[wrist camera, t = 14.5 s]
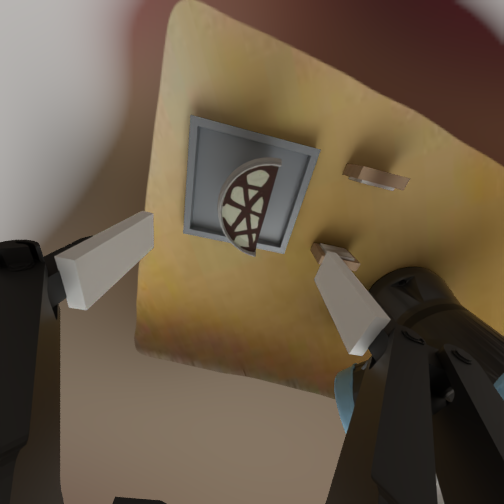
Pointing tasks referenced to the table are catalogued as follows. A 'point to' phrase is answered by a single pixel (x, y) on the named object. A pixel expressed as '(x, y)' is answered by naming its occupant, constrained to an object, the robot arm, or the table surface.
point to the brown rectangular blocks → (366, 177)
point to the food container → (247, 202)
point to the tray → (230, 158)
